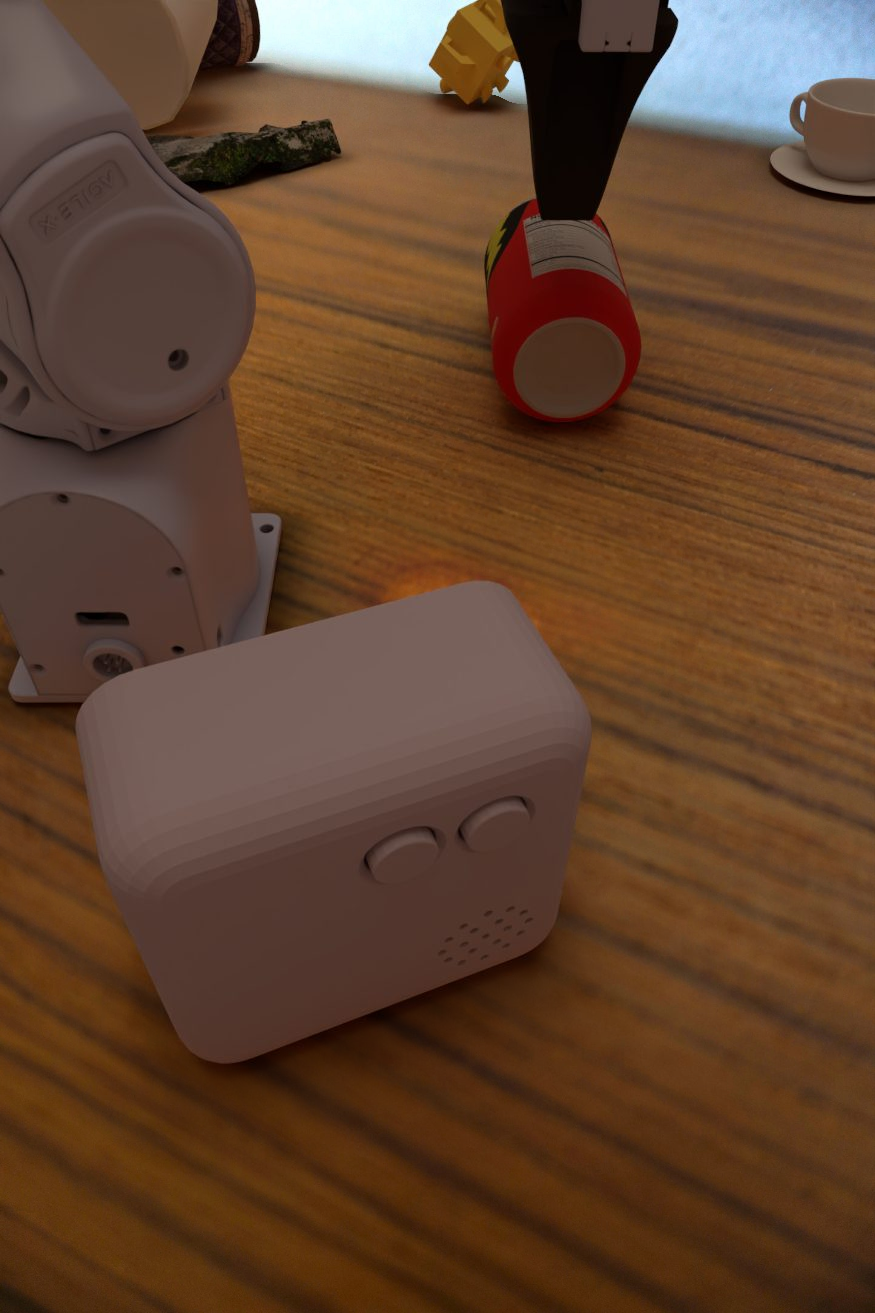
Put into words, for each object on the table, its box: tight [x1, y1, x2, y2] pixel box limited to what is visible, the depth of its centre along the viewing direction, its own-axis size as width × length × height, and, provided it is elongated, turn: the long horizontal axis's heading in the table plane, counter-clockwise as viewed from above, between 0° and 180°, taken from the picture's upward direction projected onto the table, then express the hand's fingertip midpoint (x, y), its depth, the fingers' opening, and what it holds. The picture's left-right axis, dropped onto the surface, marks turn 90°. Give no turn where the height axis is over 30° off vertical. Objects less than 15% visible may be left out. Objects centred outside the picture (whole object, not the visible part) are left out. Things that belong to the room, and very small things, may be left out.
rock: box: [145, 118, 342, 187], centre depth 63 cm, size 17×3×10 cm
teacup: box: [769, 77, 875, 197], centre depth 62 cm, size 10×10×5 cm
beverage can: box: [483, 195, 642, 423], centre depth 44 cm, size 6×6×12 cm
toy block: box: [428, 0, 520, 105], centre depth 72 cm, size 8×8×6 cm
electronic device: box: [74, 580, 593, 1064], centre depth 22 cm, size 10×5×10 cm, turn 112°
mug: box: [197, 0, 261, 73], centre depth 77 cm, size 10×7×12 cm
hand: (565, 213), depth 37 cm, fingers closed
